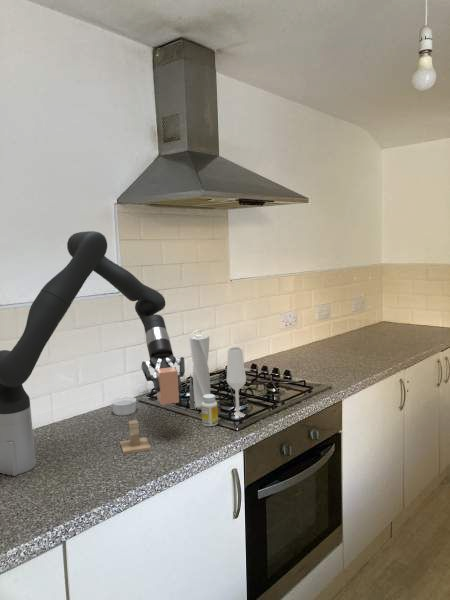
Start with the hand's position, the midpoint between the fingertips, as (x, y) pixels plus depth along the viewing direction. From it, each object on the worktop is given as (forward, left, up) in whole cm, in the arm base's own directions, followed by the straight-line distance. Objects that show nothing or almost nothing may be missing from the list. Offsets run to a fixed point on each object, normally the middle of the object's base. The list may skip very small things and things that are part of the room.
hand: (168, 389), depth 152 cm
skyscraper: (+30, +3, -16) cm, 35 cm away
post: (-9, +8, -16) cm, 20 cm away
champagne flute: (+22, -14, -16) cm, 31 cm away
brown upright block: (+1, +1, -4) cm, 5 cm away
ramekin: (+17, +28, -16) cm, 37 cm away
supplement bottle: (+14, -7, -16) cm, 23 cm away
